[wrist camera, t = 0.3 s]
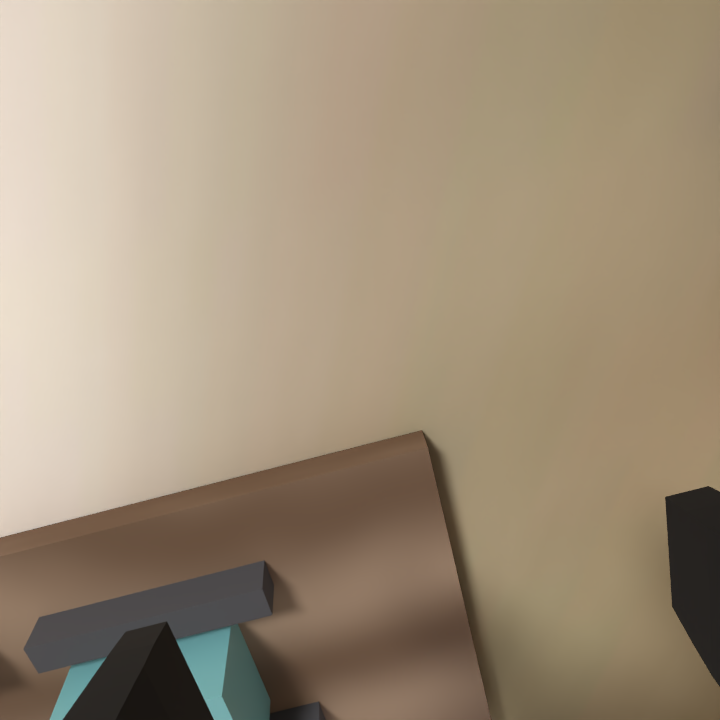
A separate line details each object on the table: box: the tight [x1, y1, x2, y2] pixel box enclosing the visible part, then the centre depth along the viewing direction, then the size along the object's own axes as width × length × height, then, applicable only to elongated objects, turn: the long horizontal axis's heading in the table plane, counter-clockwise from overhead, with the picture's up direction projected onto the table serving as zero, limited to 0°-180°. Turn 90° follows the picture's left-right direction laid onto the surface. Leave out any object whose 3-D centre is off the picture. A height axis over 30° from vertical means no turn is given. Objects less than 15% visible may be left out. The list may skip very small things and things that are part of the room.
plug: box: [50, 624, 270, 720], centre depth 19 cm, size 4×5×3 cm
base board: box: [0, 430, 491, 720], centre depth 21 cm, size 12×29×1 cm, turn 104°
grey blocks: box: [23, 561, 326, 720], centre depth 20 cm, size 7×7×1 cm
